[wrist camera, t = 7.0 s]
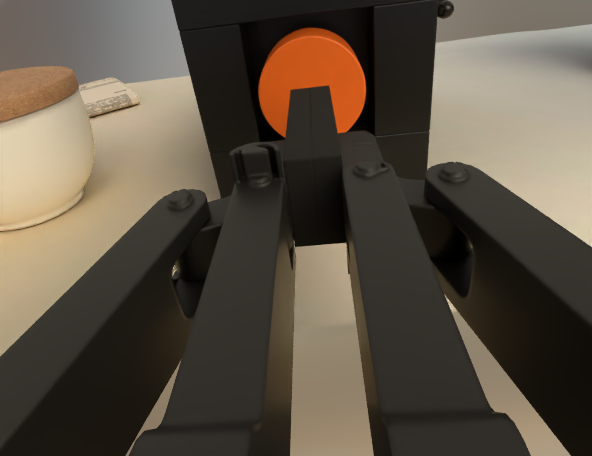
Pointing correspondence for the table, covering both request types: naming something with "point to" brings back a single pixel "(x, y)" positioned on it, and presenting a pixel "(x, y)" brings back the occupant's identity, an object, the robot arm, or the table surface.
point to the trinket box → (42, 145)
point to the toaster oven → (326, 15)
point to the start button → (312, 76)
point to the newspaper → (106, 96)
